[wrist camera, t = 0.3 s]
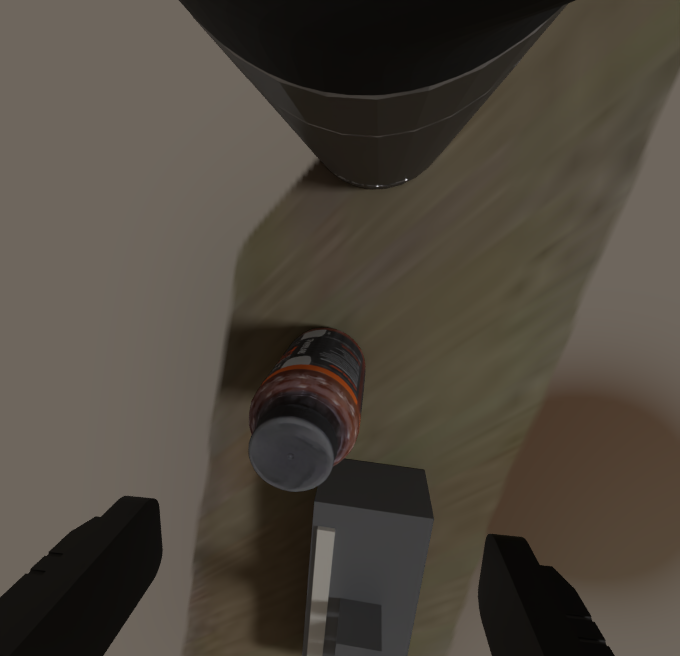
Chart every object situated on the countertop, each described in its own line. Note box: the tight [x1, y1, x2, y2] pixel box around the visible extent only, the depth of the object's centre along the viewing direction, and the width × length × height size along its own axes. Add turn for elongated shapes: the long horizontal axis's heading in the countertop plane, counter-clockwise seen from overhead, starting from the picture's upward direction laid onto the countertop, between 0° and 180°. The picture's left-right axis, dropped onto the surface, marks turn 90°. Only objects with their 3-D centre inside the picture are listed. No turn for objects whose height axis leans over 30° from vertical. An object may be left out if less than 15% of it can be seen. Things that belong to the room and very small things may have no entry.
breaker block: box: [302, 459, 434, 656], centre depth 28 cm, size 22×8×8 cm, turn 175°
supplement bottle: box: [249, 328, 365, 492], centre depth 22 cm, size 6×6×11 cm
